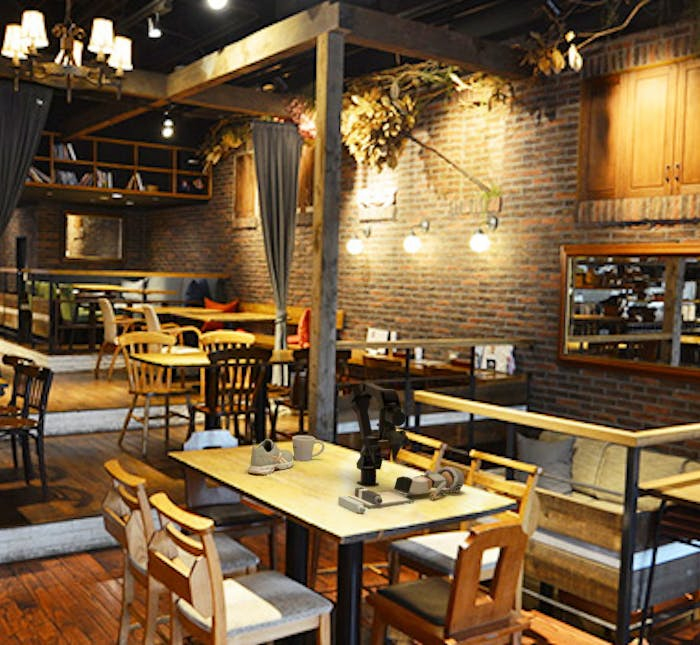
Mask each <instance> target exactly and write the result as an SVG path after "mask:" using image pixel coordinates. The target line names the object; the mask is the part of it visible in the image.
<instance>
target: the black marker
mask: <svg viewBox="0 0 700 645" xmlns="http://www.w3.org/2000/svg"><path fill="white" fill-rule="evenodd" d="M377 493H378V492H373V491H371V490H369V489H367V488H364V487H355V488H354V496H356V497H358V498H360V499H363V500H365V501H367V502H369V503H372V504H380V503H382V498H381V497H380V495H379V494H377Z"/></svg>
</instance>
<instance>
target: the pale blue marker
mask: <svg viewBox="0 0 700 645" xmlns="http://www.w3.org/2000/svg"><path fill="white" fill-rule="evenodd" d="M348 496H349V495H348ZM348 496H347V495H340V496H338V499H337V500H338V501H337V505H338V504H339V506H340V505H341V507H342V506H343V508H344V509H347V510H349V511H350V512H353V513H355V514H364V513H365V512H366V507H364V504H363V503H361V502H358V501H356V500H354V499H352V498H350V497H348Z"/></svg>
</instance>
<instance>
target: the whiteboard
mask: <svg viewBox="0 0 700 645" xmlns="http://www.w3.org/2000/svg"><path fill="white" fill-rule="evenodd" d="M376 493H377V494H379V495H380V497H381V498H382V503H380V504H372V503H369V502H367V501H365V500H363V499H360V498H358V497H356V496H355V495H348V497H350V498H352V499H354V500H356V501H358V502H361V503H363V504H364V506H365V508H366V507H367V509H368V510H371V508H373V509H378V508H385V507H392V505H394V506H400V505H399V504H402V505H405V504H404V503H409V504H412V503H411V502H414V500H413V499H410V498H409V497H407V494H406V493H403V492H400V491H398V490H395V491H390V490H389V491H381V492H376ZM414 503H415V502H414Z"/></svg>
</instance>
